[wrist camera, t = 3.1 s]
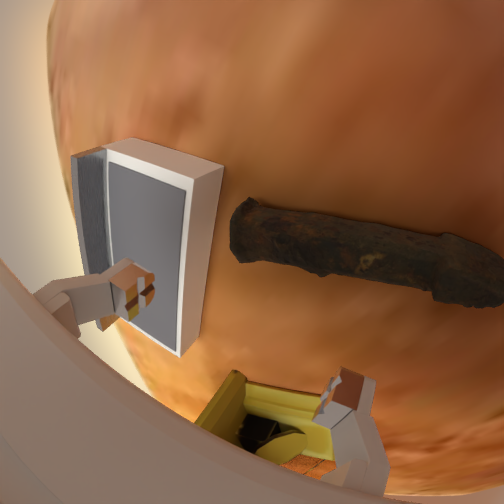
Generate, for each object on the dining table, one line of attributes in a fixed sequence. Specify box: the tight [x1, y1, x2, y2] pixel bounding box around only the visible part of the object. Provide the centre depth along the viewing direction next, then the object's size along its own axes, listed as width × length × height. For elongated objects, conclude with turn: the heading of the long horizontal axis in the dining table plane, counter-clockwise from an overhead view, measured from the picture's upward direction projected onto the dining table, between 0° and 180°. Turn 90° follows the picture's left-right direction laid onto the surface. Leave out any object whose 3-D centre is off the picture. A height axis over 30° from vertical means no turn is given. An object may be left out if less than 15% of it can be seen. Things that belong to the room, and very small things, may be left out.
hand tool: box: [230, 197, 504, 308], centre depth 16 cm, size 19×4×5 cm, turn 91°
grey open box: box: [71, 137, 224, 358], centre depth 25 cm, size 10×20×7 cm, turn 167°
